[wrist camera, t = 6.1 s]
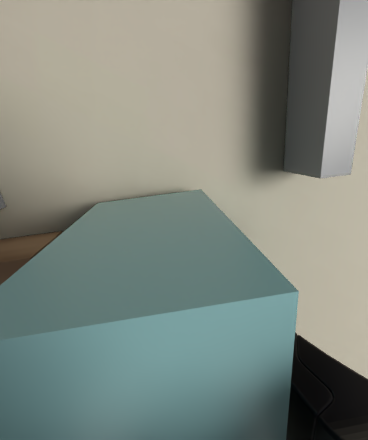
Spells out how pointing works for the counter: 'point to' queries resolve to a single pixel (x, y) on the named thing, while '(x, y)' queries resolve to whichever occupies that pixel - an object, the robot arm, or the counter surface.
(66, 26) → the counter surface
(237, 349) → the tall aqua prism
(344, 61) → the bay
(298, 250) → the counter surface
